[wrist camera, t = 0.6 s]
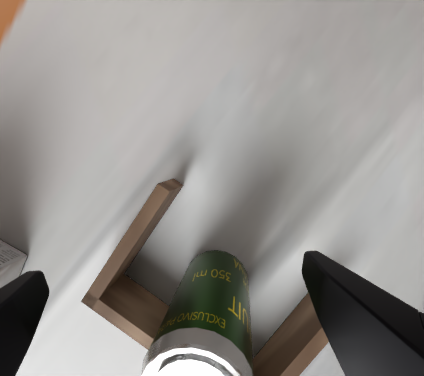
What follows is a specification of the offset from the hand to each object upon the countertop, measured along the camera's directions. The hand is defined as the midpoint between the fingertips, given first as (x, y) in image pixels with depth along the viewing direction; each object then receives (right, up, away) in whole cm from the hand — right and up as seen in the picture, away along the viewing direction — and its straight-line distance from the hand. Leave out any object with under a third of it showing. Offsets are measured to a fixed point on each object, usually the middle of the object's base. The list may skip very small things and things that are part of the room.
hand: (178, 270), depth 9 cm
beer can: (+2, -5, +14) cm, 15 cm away
